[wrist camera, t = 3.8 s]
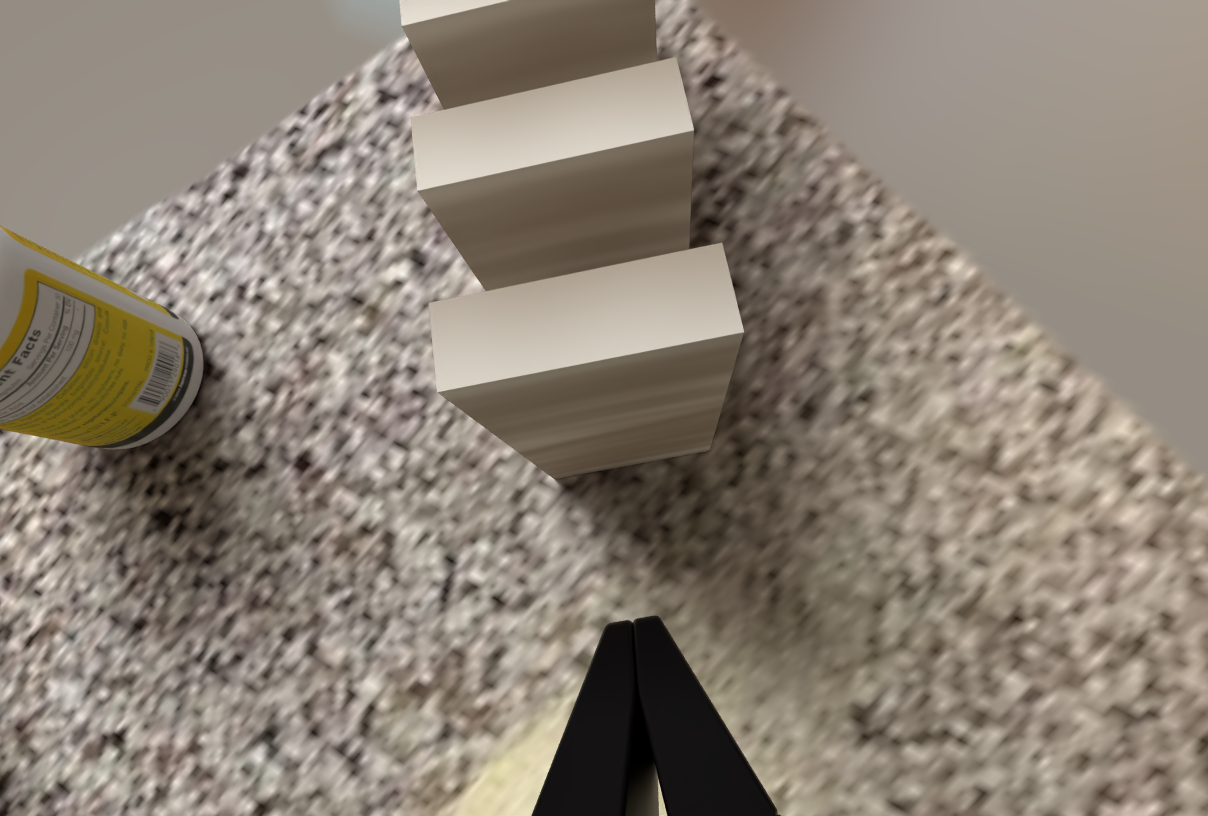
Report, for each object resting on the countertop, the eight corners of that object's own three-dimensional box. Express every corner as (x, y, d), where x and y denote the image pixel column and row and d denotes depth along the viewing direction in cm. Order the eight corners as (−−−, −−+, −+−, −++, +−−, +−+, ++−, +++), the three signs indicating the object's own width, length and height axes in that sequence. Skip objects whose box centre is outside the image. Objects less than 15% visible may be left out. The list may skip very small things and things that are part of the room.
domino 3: (663, 238, 21) (653, -34, 12) (523, 267, 22) (401, 25, 12) (654, 199, 22) (638, -96, 12) (518, 228, 22) (395, -36, 12)
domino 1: (709, 450, 19) (744, 332, 10) (554, 479, 19) (437, 391, 10) (699, 402, 20) (722, 243, 10) (547, 431, 20) (428, 302, 10)
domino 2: (685, 339, 20) (693, 130, 11) (538, 368, 21) (417, 190, 11) (675, 295, 21) (676, 56, 11) (532, 324, 21) (410, 117, 11)
